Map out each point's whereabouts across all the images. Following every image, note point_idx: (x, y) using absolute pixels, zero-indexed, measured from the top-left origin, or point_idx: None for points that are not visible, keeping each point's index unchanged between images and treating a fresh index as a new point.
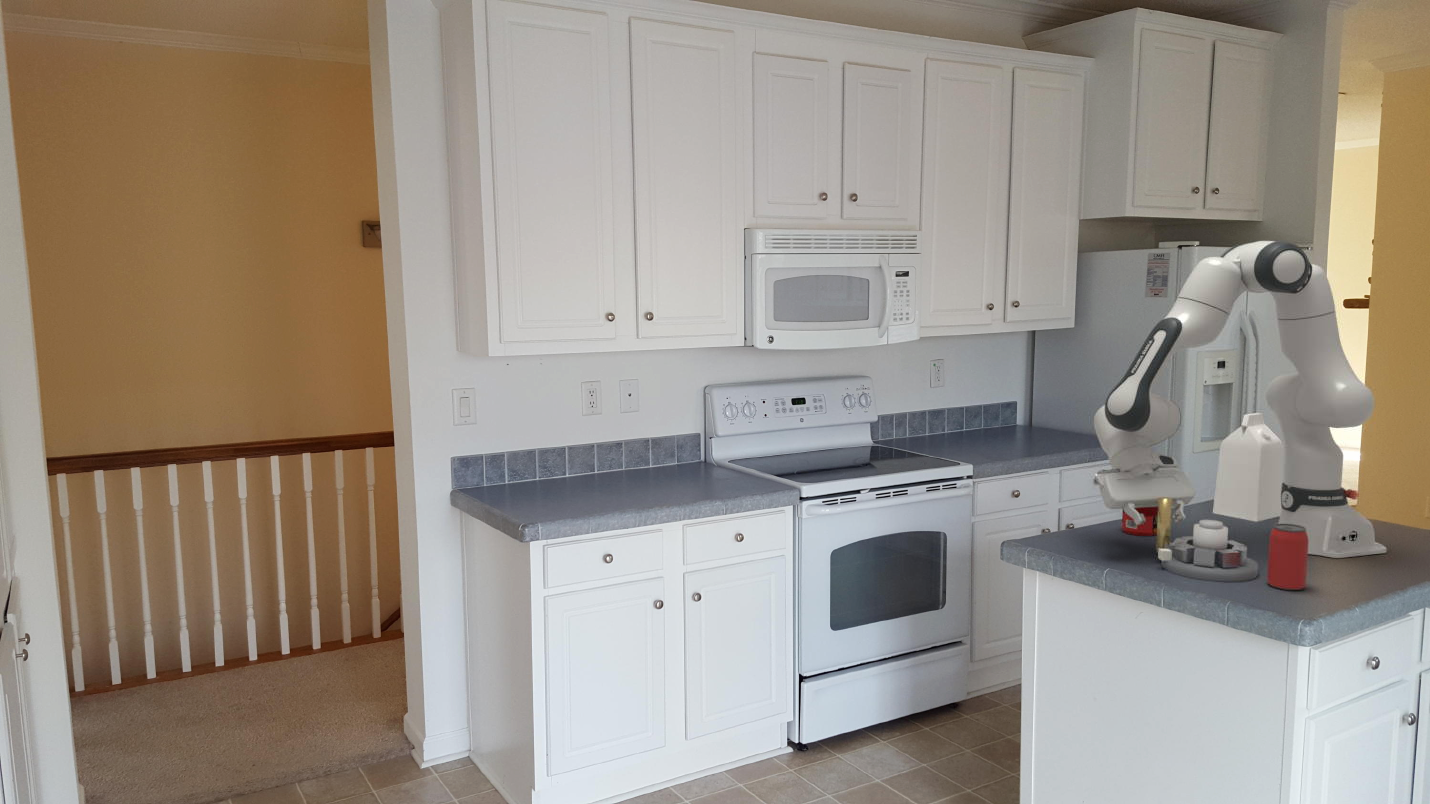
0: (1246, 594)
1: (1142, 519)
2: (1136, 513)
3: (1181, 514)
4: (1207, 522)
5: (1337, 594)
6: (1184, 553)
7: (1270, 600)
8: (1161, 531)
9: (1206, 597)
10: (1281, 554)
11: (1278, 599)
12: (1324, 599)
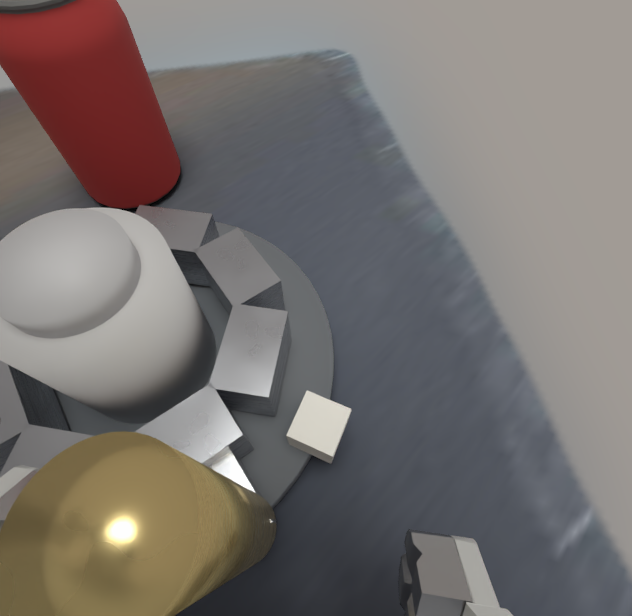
0: (296, 169)
1: (446, 535)
2: (504, 612)
3: (21, 486)
4: (83, 263)
5: None
6: (287, 337)
7: (282, 130)
8: (259, 506)
9: (415, 181)
10: (145, 71)
11: (258, 129)
12: (164, 105)
